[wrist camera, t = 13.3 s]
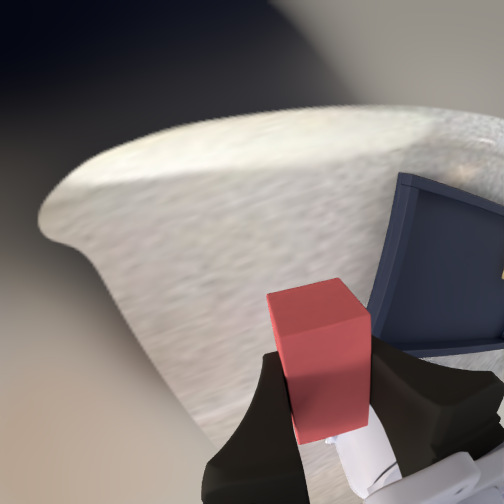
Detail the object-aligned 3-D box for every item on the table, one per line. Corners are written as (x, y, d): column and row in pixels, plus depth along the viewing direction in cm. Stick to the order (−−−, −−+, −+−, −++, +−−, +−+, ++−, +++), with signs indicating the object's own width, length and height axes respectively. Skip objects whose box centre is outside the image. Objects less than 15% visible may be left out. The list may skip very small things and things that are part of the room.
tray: (498, 340, 25) (507, 348, 23) (353, 347, 23) (361, 360, 21) (536, 221, 21) (548, 226, 19) (398, 172, 19) (412, 174, 17)
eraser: (345, 379, 15) (368, 425, 11) (286, 395, 15) (298, 445, 11) (338, 276, 13) (371, 314, 10) (265, 293, 13) (277, 338, 10)
